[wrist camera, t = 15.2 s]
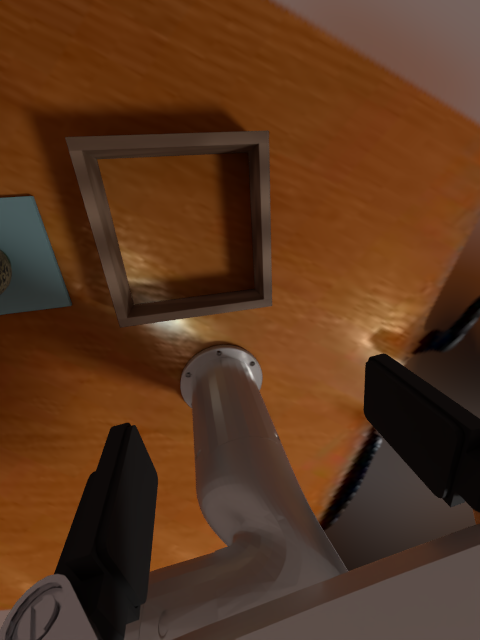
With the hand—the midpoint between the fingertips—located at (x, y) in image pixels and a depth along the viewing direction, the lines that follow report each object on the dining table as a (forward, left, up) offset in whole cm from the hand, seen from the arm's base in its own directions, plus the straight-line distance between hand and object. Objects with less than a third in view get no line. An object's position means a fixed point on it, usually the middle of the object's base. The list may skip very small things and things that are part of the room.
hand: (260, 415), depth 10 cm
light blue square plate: (+4, +23, -26) cm, 34 cm away
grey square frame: (+5, +2, -26) cm, 26 cm away
